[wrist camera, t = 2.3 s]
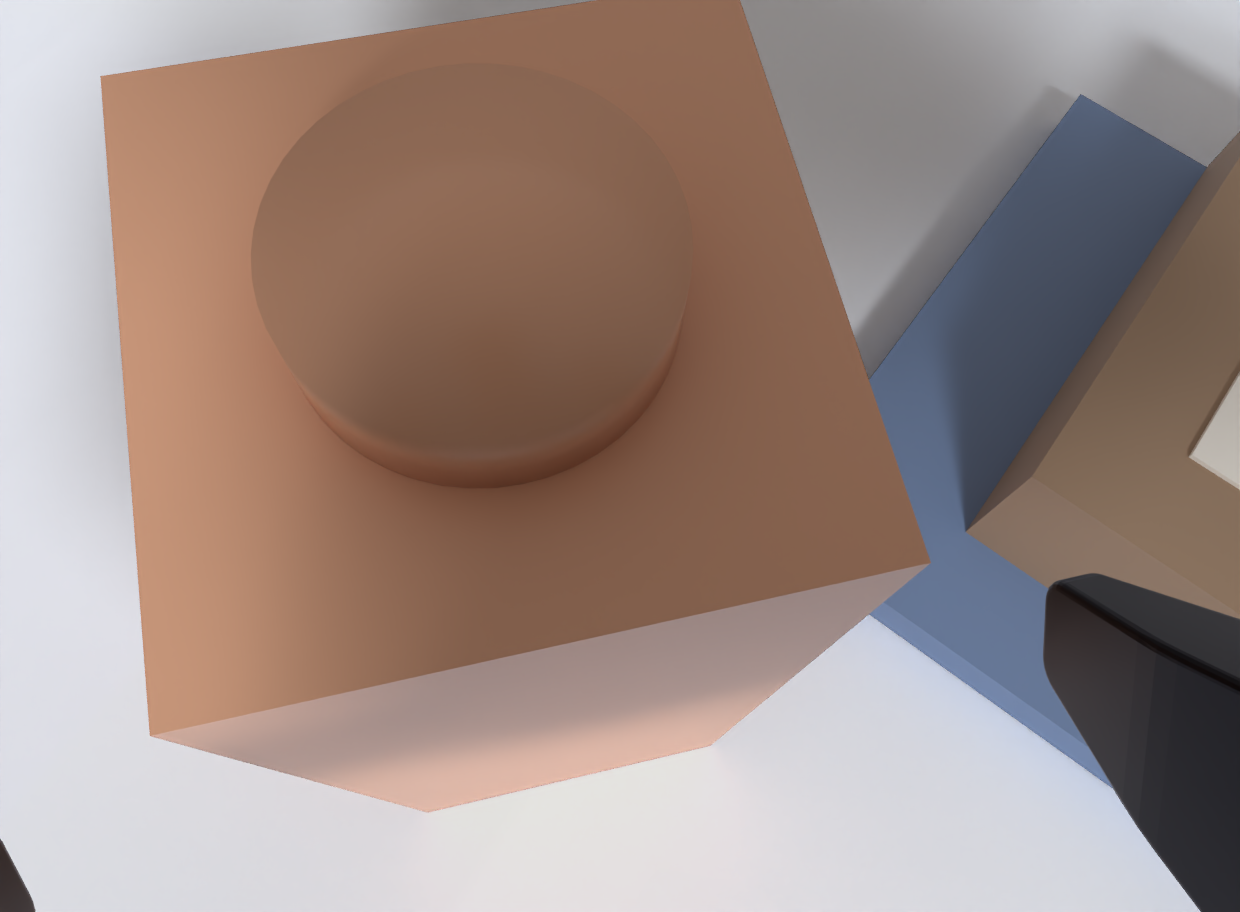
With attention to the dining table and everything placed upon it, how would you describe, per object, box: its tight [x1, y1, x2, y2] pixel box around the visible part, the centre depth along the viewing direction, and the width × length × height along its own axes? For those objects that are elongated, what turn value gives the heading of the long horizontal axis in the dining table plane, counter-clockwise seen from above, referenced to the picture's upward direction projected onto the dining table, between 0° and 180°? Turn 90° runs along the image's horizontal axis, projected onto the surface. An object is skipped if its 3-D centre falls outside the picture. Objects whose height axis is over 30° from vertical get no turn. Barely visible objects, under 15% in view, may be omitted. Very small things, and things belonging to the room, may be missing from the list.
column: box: [101, 0, 931, 812], centre depth 13 cm, size 5×5×13 cm
